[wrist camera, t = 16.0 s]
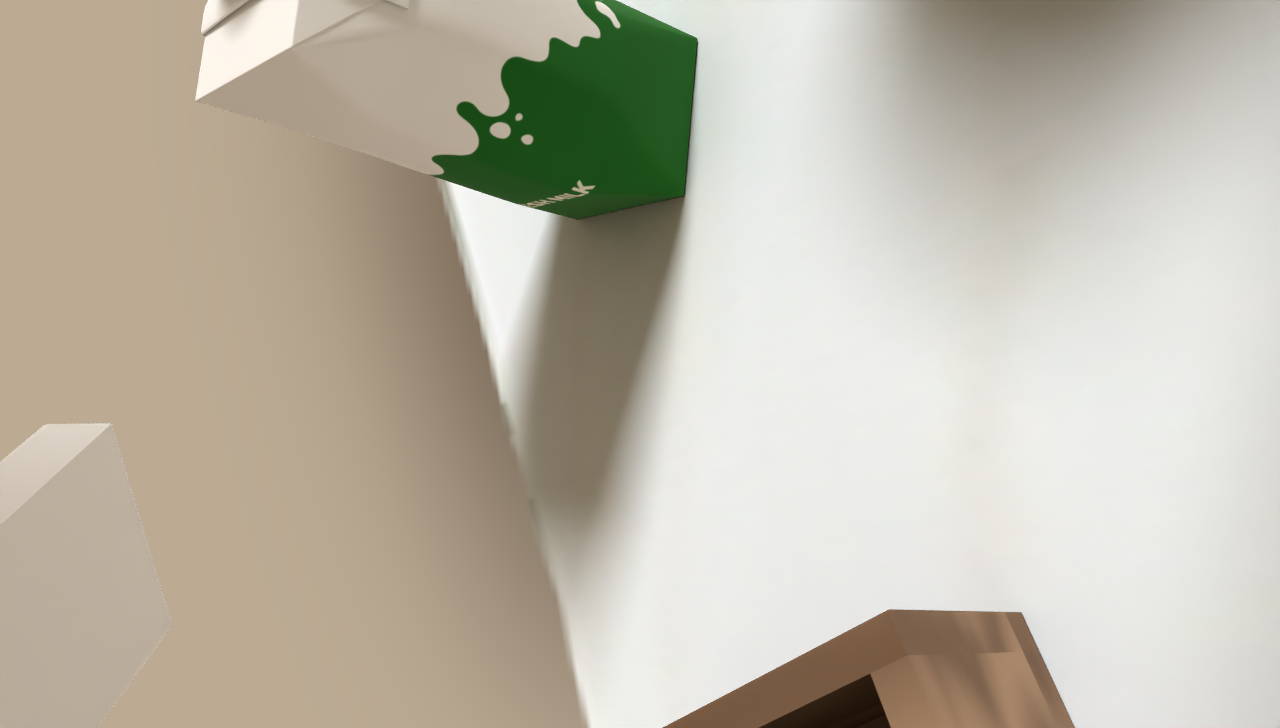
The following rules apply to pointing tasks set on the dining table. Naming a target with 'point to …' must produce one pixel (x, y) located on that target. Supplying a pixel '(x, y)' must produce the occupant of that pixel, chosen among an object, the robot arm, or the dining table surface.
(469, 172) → the milk carton
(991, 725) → the walnut box
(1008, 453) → the dining table surface
